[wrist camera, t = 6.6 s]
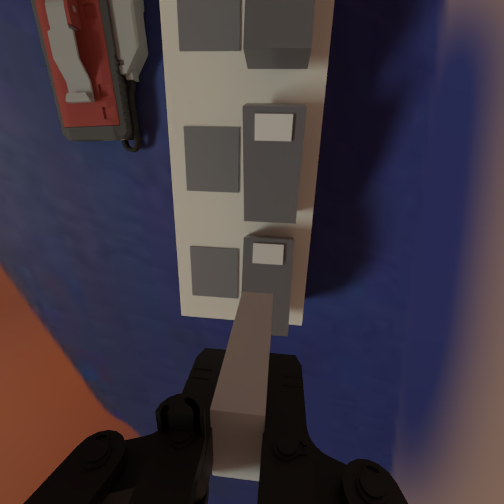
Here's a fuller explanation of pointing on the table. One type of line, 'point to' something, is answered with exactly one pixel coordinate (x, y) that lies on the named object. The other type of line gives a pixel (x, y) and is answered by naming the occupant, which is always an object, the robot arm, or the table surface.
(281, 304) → the rocker
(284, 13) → the block
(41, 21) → the walkie-talkie
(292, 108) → the rocker
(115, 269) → the table surface
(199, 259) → the power strip
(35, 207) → the table surface
